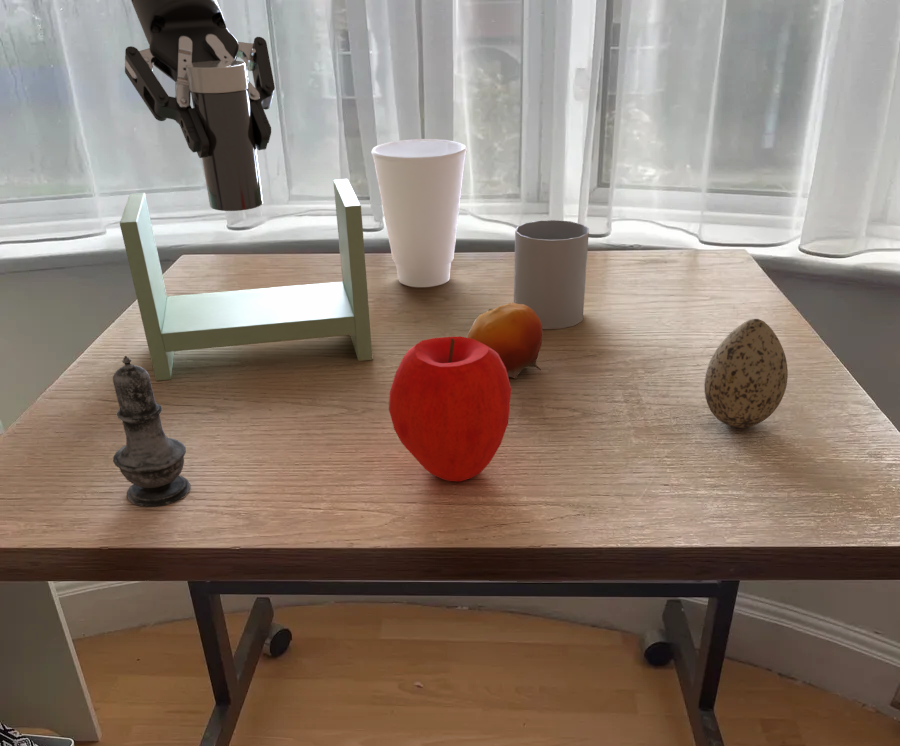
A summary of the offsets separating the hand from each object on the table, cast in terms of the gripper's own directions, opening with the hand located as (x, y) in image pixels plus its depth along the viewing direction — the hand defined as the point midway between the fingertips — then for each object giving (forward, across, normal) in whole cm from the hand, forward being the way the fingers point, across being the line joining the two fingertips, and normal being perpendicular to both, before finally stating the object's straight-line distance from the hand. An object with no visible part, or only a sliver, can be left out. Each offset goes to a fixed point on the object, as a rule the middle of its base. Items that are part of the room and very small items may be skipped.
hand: (234, 147), depth 84 cm
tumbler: (+3, 0, -5) cm, 6 cm away
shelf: (+12, -2, -19) cm, 22 cm away
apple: (+37, -5, +6) cm, 38 cm away
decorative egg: (+42, -32, +11) cm, 54 cm away
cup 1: (+4, -29, -27) cm, 40 cm away
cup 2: (+18, -34, -12) cm, 41 cm away
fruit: (+26, -21, -5) cm, 34 cm away
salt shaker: (+29, +18, -2) cm, 34 cm away
